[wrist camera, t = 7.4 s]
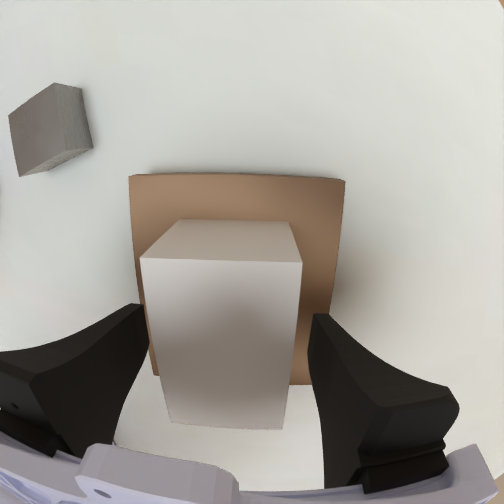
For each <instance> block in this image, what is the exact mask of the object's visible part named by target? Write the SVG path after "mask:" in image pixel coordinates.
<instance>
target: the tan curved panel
mask: <svg viewBox="0 0 504 504" xmlns="http://www.w3.org/2000/svg"><path fill="white" fill-rule="evenodd" d="M344 192H345V181H343V180H341V179H333V178H321V177H307V176H291V175H271V174H242V173H161V174H136V175H132V176H129V198H130V214H131V228H132V239H133V250H134V259H135V268H136V276H137V284H138V291H139V298H140V304H144V311H145V317H146V323H147V329H148V335H149V340H150V344H149V347H148V350H149V355H150V360H151V364H152V369H153V373H154V375H156V376H160V375H159V371H158V366H157V362H156V357H155V352H154V347H153V342H152V337H151V331H150V326H149V320H148V314H147V308H146V302H145V295H144V288H143V281H142V273H141V265H140V257H141V256H142V255H143V254H144V253H145V252H146V251H147V250H148V249H149V248H150V247H151V246H152V245H153V244H154V243H155V242H156V241H157V240H158V239H159V238H160V237H161V236H162V235H163V234H164V233H165V232H166V231H168V230H169V229H170V228H171V227H172V226H173V225H174V224H175V223H176V222H177V221H178V220H179V219H197V220H251V221H285V222H289V225H290V228H291V231H292V233H293V236H294V239H295V242H296V245H297V248H298V251H299V254H300V256H301V259H302V262H303V264H302V275H301V286H300V296H299V306H298V316H297V325H296V334H295V342H294V350H293V358H292V366H291V374H290V381H289V385H312V382H311V378H310V374H309V367H308V357H307V349H308V343H309V337H310V331H311V324H312V318H313V313H327V314H329V309H330V303H331V297H332V290H333V284H334V277H335V270H336V263H337V256H338V248H339V240H340V231H341V223H342V213H343V203H344Z"/></svg>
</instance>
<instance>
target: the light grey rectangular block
mask: <svg viewBox="0 0 504 504" xmlns="http://www.w3.org/2000/svg"><path fill="white" fill-rule="evenodd" d="M302 264H303V262H302V259H301V256H300V254H299V251H298V248H297V245H296V242H295V239H294V236H293V233H292V231H291V228H290V225H289V222H285V221H251V220H197V219H179V220H178V221H177V222H176V223H175V224H174V225H173V226H172V227H171V228H170V229H169V230H168V231H166V232H165V233H164V234H163V235H162V236H161V237H160V238H159V239H158V240H157V241H156V242H155V243H154V244H153V245H152V246H151V247H150V248H149V249H148V250H147V251H146V252H145V253H144V254H143V255H142V256H141V257H140V265H141V273H142V281H143V288H144V295H145V302H146V308H147V314H148V320H149V326H150V331H151V337H152V342H153V347H154V352H155V357H156V362H157V366H158V371H159V375H160V380H161V384H162V388H163V392H164V396H165V400H166V404H167V408H168V412H169V416H170V419H171V422H174V423H182V424H190V425H199V426H209V427H221V428H237V429H273V430H277V429H282V428H283V422H284V415H285V409H286V402H287V395H288V388H289V381H290V374H291V366H292V358H293V350H294V342H295V334H296V325H297V316H298V306H299V296H300V286H301V275H302Z"/></svg>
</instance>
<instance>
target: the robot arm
mask: <svg viewBox="0 0 504 504" xmlns="http://www.w3.org/2000/svg"><path fill="white" fill-rule="evenodd" d="M149 344H150V340H149V335H148V329H147V323H146V317H145V311H144V304H133V303H131V304H128V305H126V306H124V307H122V308H121V309H119V310H117V311H115V312H114V313H112V314H110V315H109V316H107V317H105V318H104V319H102V320H100V321H98V322H97V323H95V324H93V325H91V326H89V327H87V328H85V329H83V330H81V331H79V332H77V333H75V334H73V335H70V336H68V337H66V338H63V339H60V340H57V341H54V342H51V343H48V344H45V345H41V346H37V347H33V348H28V349H22V350H14V351H4V352H0V408H1V410H0V504H485V503H487V502H488V501H489V500H490V499H491V498H493V497H494V496H495V495H496V494H497V493H498V491H499V490H498V488H497V486H496V484H495V481H494V479H493V477H492V475H491V473H490V471H489V469H488V467H487V464H486V462H485V460H484V458H483V456H482V454H481V453H480V451H479V449H478V447H477V445H476V444H472V445H469V446H467V447H464V448H461V449H459V450H456V451H453V452H451V453H450V454H448V455H447V456H446V457H445V455H444V452H443V450H444V449H445V447H446V444H445V442H444V440H443V438H444V436H445V435H446V433H447V432H448V431H449V429H450V428H451V426H452V425H453V423H454V422H455V420H456V418H457V416H458V413H459V409H460V408H459V404H458V402H457V401H456V399H455V397H454V396H453V394H452V392H451V391H450V389H449V388H448V387H446V386H442V385H439V384H435V383H431V382H428V381H425V380H422V379H420V378H417V377H414V376H412V375H410V374H407V373H405V372H403V371H401V370H399V369H397V368H395V367H393V366H391V365H390V364H388V363H386V362H384V361H383V360H381V359H380V358H378V357H377V356H375V355H374V354H372V353H371V352H370V351H368V350H367V349H366V348H364V347H363V346H362V345H361V344H359V343H358V342H357V341H356V340H355V339H354V338H353V337H351V336H350V335H349V334H348V333H347V332H346V331H345V330H344V329H343V328H342V327H341V326H340V325H339V324H338V323H337V322H336V321H335V320H334V319H333V318H332V317H331V316H330V315H329V314H327V313H313V318H312V324H311V331H310V337H309V343H308V349H307V357H308V367H309V374H310V378H311V382H312V386H313V390H314V394H315V399H316V403H317V407H318V411H319V417H320V423H321V433H322V445H323V459H324V489H319V490H305V491H276V492H265V491H239V483H238V482H237V480H236V479H235V477H234V476H233V475H232V474H231V473H229V472H227V471H225V470H223V469H221V468H219V467H217V466H213V465H209V464H204V463H200V462H195V461H187V460H181V459H174V458H168V457H163V456H157V455H152V454H147V453H142V452H138V451H134V450H129V449H125V448H121V447H117V446H115V444H114V442H113V438H114V434H115V430H116V427H117V423H118V420H119V416H120V413H121V410H122V407H123V404H124V402H125V399H126V397H127V395H128V393H129V391H130V389H131V387H132V385H133V383H134V381H135V379H136V376H137V374H138V372H139V370H140V368H141V366H142V364H143V362H144V360H145V357H146V354H147V350H148V347H149Z"/></svg>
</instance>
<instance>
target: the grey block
mask: <svg viewBox="0 0 504 504" xmlns="http://www.w3.org/2000/svg"><path fill="white" fill-rule="evenodd" d="M8 117H9V125H10V132H11V138H12V144H13V149H14V155H15V160H16V165H17V169H18V174H19V177H22V176H26V175H30V174H35V173H39V172H44V171H48V170H50V169H52V168H54V167H56V166H57V165H59V164H61V163H63V162H65V161H67V160H69V159H71V158H73V157H75V156H77V155H79V154H81V153H84V152H86V151H88V150H90V149H92V148H93V144H92V140H91V136H90V131H89V126H88V122H87V117H86V112H85V107H84V102H83V96H82V90H81V89H80V88H76V87H72V86H67V85H63V84H58V83H53V84H51V85H50V86H48V87H47V88H45V89H44V90H42V91H41V92H39V93H38V94H36V95H35V96H33V97H32V98H31V99H29V100H28V101H27V102H25V103H24V104H22V105H21V106H20V107H18V108H17V109H16V110H15V111H13V112H12V113H11V114H9V115H8Z"/></svg>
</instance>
